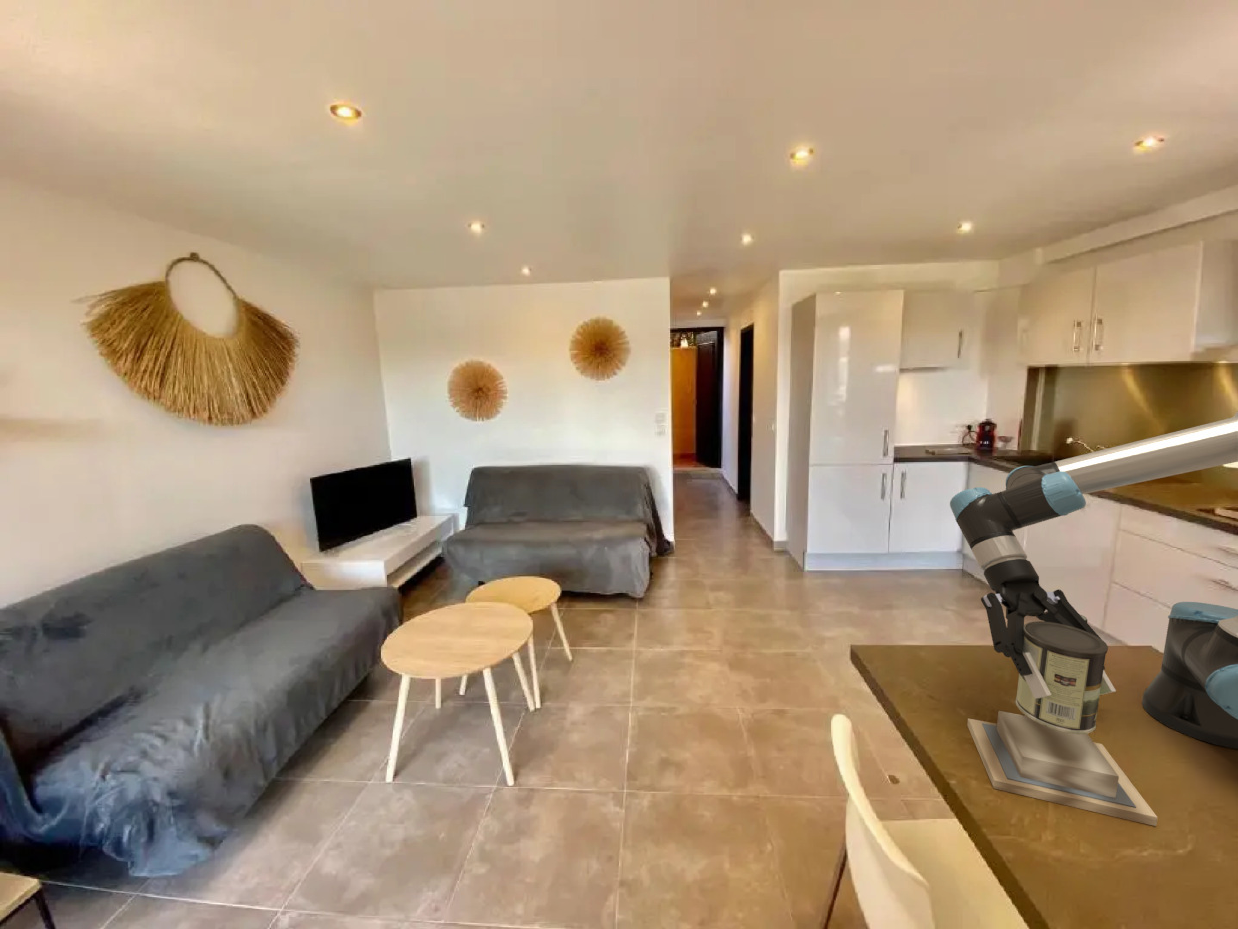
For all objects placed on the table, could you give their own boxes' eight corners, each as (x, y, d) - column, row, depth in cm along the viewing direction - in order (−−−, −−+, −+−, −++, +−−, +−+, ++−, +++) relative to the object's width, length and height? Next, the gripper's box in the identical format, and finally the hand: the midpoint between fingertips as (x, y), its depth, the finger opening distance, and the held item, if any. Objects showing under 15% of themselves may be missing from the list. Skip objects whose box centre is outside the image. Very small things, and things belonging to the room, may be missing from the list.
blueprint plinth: (1100, 751, 88) (1104, 723, 87) (1156, 826, 73) (1161, 794, 72) (967, 725, 95) (969, 699, 95) (993, 788, 81) (996, 758, 80)
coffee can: (1065, 696, 87) (1076, 622, 85) (1113, 737, 77) (1127, 655, 75) (1000, 692, 89) (1009, 619, 86) (1039, 732, 79) (1050, 651, 76)
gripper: (1048, 571, 95) (1122, 695, 83) (935, 576, 94) (992, 703, 82) (1078, 554, 89) (1163, 686, 76) (958, 559, 88) (1023, 694, 75)
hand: (1075, 695), depth 79 cm, fingers closed on coffee can, 10 cm apart
